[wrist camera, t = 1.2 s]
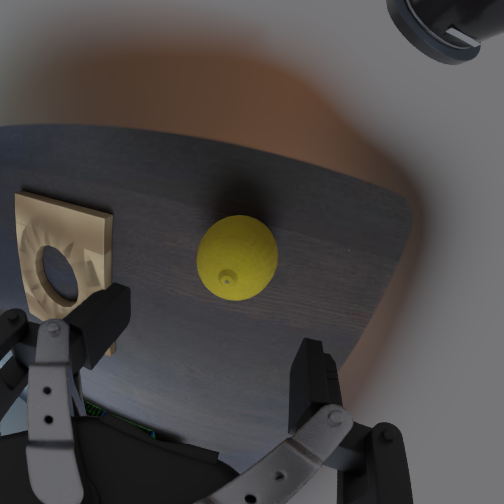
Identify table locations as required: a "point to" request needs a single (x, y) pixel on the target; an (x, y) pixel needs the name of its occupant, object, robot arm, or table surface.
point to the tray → (62, 251)
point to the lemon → (237, 257)
